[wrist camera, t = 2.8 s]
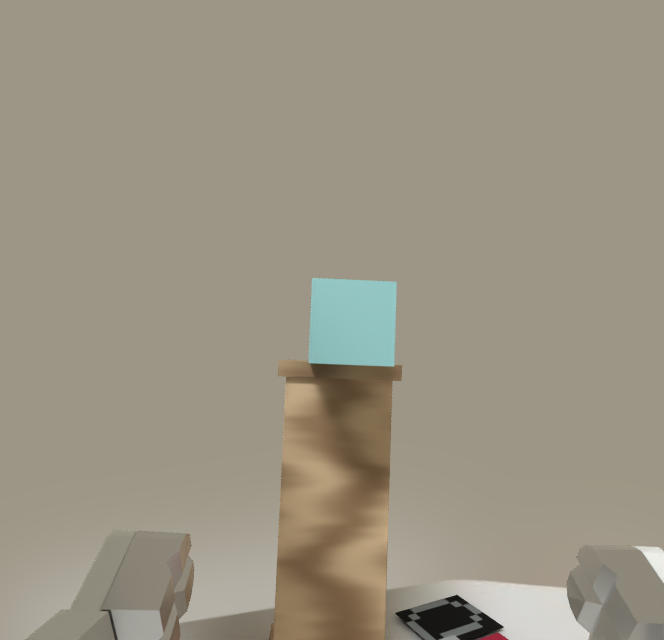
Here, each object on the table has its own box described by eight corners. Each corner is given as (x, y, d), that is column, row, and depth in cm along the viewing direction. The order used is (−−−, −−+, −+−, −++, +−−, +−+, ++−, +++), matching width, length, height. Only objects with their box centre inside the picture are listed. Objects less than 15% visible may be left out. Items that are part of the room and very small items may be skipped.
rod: (308, 363, 21) (312, 278, 22) (310, 360, 43) (312, 318, 44) (394, 366, 22) (396, 281, 22) (353, 362, 44) (354, 320, 44)
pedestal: (247, 804, 27) (270, 360, 29) (270, 646, 42) (284, 359, 44) (399, 804, 28) (410, 365, 30) (369, 647, 42) (378, 363, 45)
